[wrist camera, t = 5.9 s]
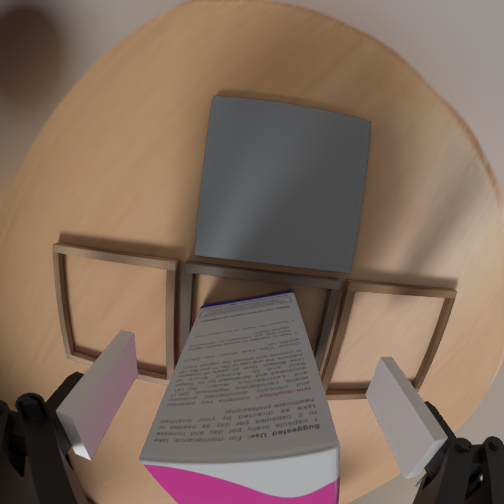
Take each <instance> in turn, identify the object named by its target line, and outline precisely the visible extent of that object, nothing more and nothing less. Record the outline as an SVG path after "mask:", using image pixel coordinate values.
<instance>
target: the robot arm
mask: <svg viewBox="0 0 504 504" xmlns="http://www.w3.org/2000/svg"><path fill="white" fill-rule="evenodd" d="M137 375H138V370H137V360H136V349H135V336H134V333H132V332H127V331H123V330H121V331H120V332H119V333H118V335H117V336H116V337H115V338H114V339H113V341H112V342H111V343H110V344H109V345H108V346H107V348H106V349H105V350H104V351H103V352H102V354H101V355H100V356H99V357H98V358H97V360H96V361H95V362H94V363H93V364H92V366H91V367H90V368H89V369H88V371H87V372H86V373H85V374H82V373H79V372H75V373H73V374H71V375H70V376H68V377H67V378H66V379H65V380H64V382H63V383H62V384H61V385H60V386H59V387H58V390H56V391H55V392H54V393H53V395H52V396H51V397H50V398H49V399H48V400H47V402H46V403H45V401H44V399H43V398H42V397H41V396H40V395H38V394H35V393H26V394H23V395H21V396H20V397H19V398H18V399H17V401H16V405H15V406H16V408H17V410H18V412H15V411H11V410H10V409H9V407H8V405H7V404H6V403H5V402H4V401H2V400H0V504H93V503H92V502H91V501H90V500H88V499H87V498H86V497H85V495H84V492H83V490H82V487H81V485H80V482H79V480H78V477H77V475H76V472H75V469H74V466H73V463H72V460H71V457H70V455H69V453H68V451H69V450H70V448H71V446H72V448H73V450H74V452H75V454H77V455H80V456H82V457H84V458H87V459H89V460H91V459H92V457H93V455H94V453H95V451H96V449H97V448H98V446H99V444H100V442H101V440H102V438H103V436H104V434H105V433H106V431H107V429H108V427H109V425H110V423H111V421H112V420H113V418H114V416H115V414H116V412H117V411H118V409H119V407H120V405H121V403H122V402H123V400H124V398H125V396H126V394H127V393H128V391H129V389H130V387H131V386H132V384H133V382H134V380H135V379H136V377H137ZM365 396H366V398H367V400H368V402H369V404H370V406H371V408H372V410H373V412H374V414H375V416H376V418H377V421H378V423H379V425H380V427H381V429H382V431H383V433H384V435H385V438H386V440H387V442H388V444H389V446H390V448H391V451H392V453H393V455H394V457H395V459H396V462H397V464H398V466H399V468H400V471H401V473H402V475H403V477H404V479H408V478H411V477H415V476H418V475H419V473H420V472H421V471H422V470H423V469H425V471H426V474H425V475H424V476H423V477H422V478H421V479H420V481H419V482H418V483H417V484H416V487H417V486H418V485H419V484H420V483H421V484H420V487H419V490H418V492H417V495H416V497H415V499H414V501H413V504H504V445H503V442H502V441H501V440H500V439H499V438H497V437H494V436H491V437H488V438H486V440H485V441H484V442H483V444H480V445H472V444H471V442H469V441H468V440H467V439H465V438H456V436H455V435H454V433H453V432H452V430H451V429H450V428H449V426H448V425H447V423H446V422H445V420H443V418H442V416H441V415H439V414H440V413H439V412H438V410H437V409H436V408H435V407H434V406H433V405H432V404H430V403H429V402H428V401H427V402H424V401H423V400H422V398H421V397H420V396H419V394H418V393H417V391H416V390H415V388H414V387H413V386H412V384H411V383H410V381H409V380H408V379H407V377H406V376H405V374H404V373H403V372H402V370H401V369H400V368H399V366H398V365H397V363H396V362H395V361H394V359H393V358H392V357H380V360H379V362H378V365H377V368H376V370H375V373H374V375H373V378H372V380H371V383H370V385H369V387H368V390H367V392H366V394H365ZM481 476H483V480H482V481H481V480H480V477H481Z"/></svg>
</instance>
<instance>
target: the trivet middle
mask: <svg viewBox="0 0 504 504" xmlns="http://www.w3.org/2000/svg"><path fill="white" fill-rule="evenodd" d="M194 273H196V274H203V275H211V276H219V277H227V278H235V279H244V280H252V281H261V282H270V283H279V284H288V285H298V286H308V287H318V288H328V294H327V299H326V303H325V308H324V312H323V317H322V321H321V325H320V329H319V333H318V338H317V342H316V345H315V349H314V353H313V355H314V358H315V361H316V365H317V368H318V372H319V369H320V366H321V362H322V359H323V355H324V352H325V348H326V344H327V341H328V337H329V333H330V329H331V325H332V321H333V317H334V313H335V309H336V304H337V300H338V296H339V291H340V287H341V282H342V281H341V280H340V279H339V278H331V277H321V276H312V275H303V274H294V273H285V272H276V271H267V270H258V269H250V268H241V267H233V266H225V265H217V264H208V263H200V262H193V261H186V262H185V263H184V276H183V296H182V327H181V353H182V350H183V348H184V346H185V343H186V341H187V339H188V336H189V334H190V331H191V321H192V300H193V283H194Z"/></svg>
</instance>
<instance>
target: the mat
mask: <svg viewBox="0 0 504 504" xmlns="http://www.w3.org/2000/svg"><path fill="white" fill-rule="evenodd" d="M370 126H371V121H367V120H364V119H360V118H356V117H352V116H348V115H344V114H340V113H335V112H331V111H326V110H321V109H316V108H311V107H305V106H300V105H294V104H288V103H281V102H274V101H266V100H258V99H249V98H239V97H226V96H213V100H212V106H211V113H210V119H209V126H208V133H207V140H206V147H205V155H204V163H203V171H202V179H201V188H200V197H199V207H198V217H197V228H196V239H195V252H194V255H199V256H207V257H215V258H223V259H231V260H240V261H248V262H257V263H265V264H274V265H282V266H291V267H300V268H309V269H318V270H326V271H335V272H345V273H350V271H351V266H352V261H353V256H354V251H355V245H356V240H357V234H358V228H359V222H360V216H361V209H362V202H363V195H364V188H365V179H366V171H367V161H368V151H369V139H370Z"/></svg>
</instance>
